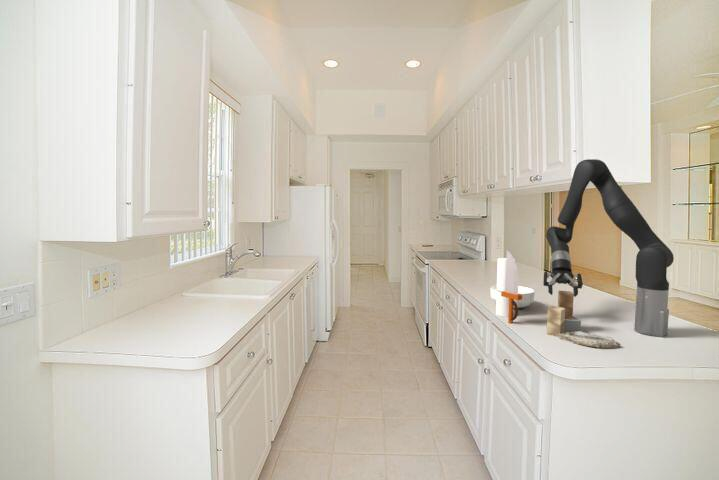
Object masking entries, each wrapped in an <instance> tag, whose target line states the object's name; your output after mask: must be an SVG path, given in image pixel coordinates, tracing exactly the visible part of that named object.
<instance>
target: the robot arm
mask: <svg viewBox="0 0 719 480" xmlns="http://www.w3.org/2000/svg"><path fill="white" fill-rule="evenodd" d="M590 182H591V183H592V184H593V186H594V187H595V188H596V189H597V191H598V192H599V194H600V197H601V201H602V206H603V209H604V211H605V213H606V215H607V216H608V217H609V219H610V220H611V222H612V223H613V224H614V225H615V226H616V227H617V228H618V229H619V230H621V231H622V232H623V233H624V234H625V235H626V236H628V237H629V238H630V239H631V240H632V241H633V243H634V244H635V245H636V247H637V248H638V250H639V251H637V253H636V257H635V280H636V284H637V285H636V294H635V295H636V296H635V311H634V326H633V327H634V328H633V329H634V331H635V332H636V333H640V334H642V335H648V336H653V337H661V338H664V337H665V336H667V335H668V331H669V330H668V329H669V317H670V309H669V308H668V304H669V291H670V282H669V281H668V278H667V272H668V270H667V269H668V268H669V267H670V266H672V264H673V263H674V259H675V258H674V253H673V252H672V250H671V249H670V248H669V247H668V246H667V245H666V244H665V243H664V242H663V240H662V239H661V238H659V237H658V235H657V234H656V233H655V231H653V230H652V227H650V225H649V223H648V222H647V220H646V219H645V218H644V217H643V215H642V214H641V212H640V211H639V210H638V208H637V207H636V206H635V204H634V202H633V201H632V199H630V197H628V194H627V193H625V191H624V189H622V187H621V186H620V185H619V184H618V182H617V181H616V179H615V178H614V175H613V174H612V173H611V171H610V169H609V168H608V166H607V164H606V163H605V162H604V161H602V160H600V159H598V158H597V159H595V158H594V159H593V158H592V159H591V158H590V159H589V158H588V159H583V160H581V161H579V162H578V163H577V165H576V166H575V169H574V172H573V174H572V179H571V182H570V186H569V190H568V193H567V196H566V199H565V201H564V204H563V206H562V209H561V210H560V213H559V214H558V216H557V222H558V224H559V223H560V224H561V225H562V226H565V228H564V227H560V226H554V225H553V226H549V227H548V229H547V230H546V232H545V236H546V240H547V243H548V245H549V247H550V250H551V251H550V252H551V259H550V260H551V262H550V263H551V264H550V265H551V272H550V273H549V272H547V271H544V272H543V287H547V291H548V294H550V295H553V286H555V284H558V285H560V284H563V285H569V287H571V288H573V289H572V291H573V292H572V293H573V294H574V298H575V297H578V295H579V289H582V288H583V285H584V284H583V279H582V274H581V273H577V274H574V273H573V272H572V271H573V269H572V259H571V256H570V247H569V245H568V244H569V243H570V242H571V241H572V239H573V232H574V227H575V223H576V221H577V219H578V217H579V215H580V213H581V209H582V206H583V197H584V193H585V190H586V188H587V186H588V185H589V184H590ZM549 278H551V280H550V281H548V279H549ZM574 279H575V280H576V281H577V283H576V282H575V280H574Z"/></svg>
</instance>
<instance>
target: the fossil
mask: <svg viewBox="0 0 719 480" xmlns="http://www.w3.org/2000/svg"><path fill="white" fill-rule="evenodd" d="M558 336H559V337H558V338H559V339H561V340H562V341H565V342H569V343H573V344H577V345H581V346H586V347H592V348H594V347H595V348H597V349H599V348H601V349H602V348H603V349H610V348H611V349H613V348H615V349H617V348H619V347H620V346H621V343H620V342H618V341H616V340H615V339H614V338H613V337H611V336H601V335H596V334H591V333H589V332H585V331H582V330H580V331H575V332H564V333H559V334H558Z"/></svg>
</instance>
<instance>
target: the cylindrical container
mask: <svg viewBox="0 0 719 480" xmlns="http://www.w3.org/2000/svg"><path fill="white" fill-rule="evenodd" d="M513 259H514V261H515V262H516V259H515V258H513ZM496 265H497V267H496V268H497V270H496V285H497V293H496V302H495V315H496V316H498V317H507V318H508V315H509V298H507V297H503V296H501V292H502V291H505V276H506V257H499V258H497V264H496Z"/></svg>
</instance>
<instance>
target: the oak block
mask: <svg viewBox="0 0 719 480" xmlns="http://www.w3.org/2000/svg"><path fill="white" fill-rule="evenodd" d="M564 320H565V308H561V307H558V306H555V305H551V306H550V307H547V319H546V322H547V323H546V335H549V336H552V335H553V337H557V338H559V336H558V334H559V333H565V332H564Z"/></svg>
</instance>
